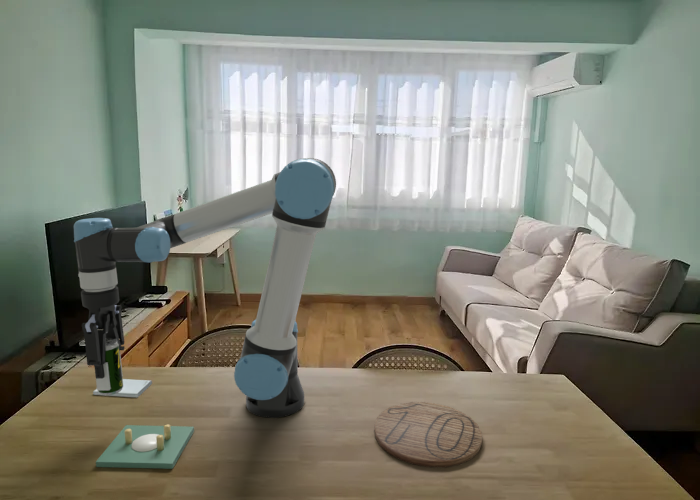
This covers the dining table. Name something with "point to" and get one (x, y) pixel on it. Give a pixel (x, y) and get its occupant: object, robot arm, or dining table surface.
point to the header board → (146, 447)
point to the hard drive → (131, 388)
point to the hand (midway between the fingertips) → (110, 383)
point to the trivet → (428, 434)
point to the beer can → (113, 367)
